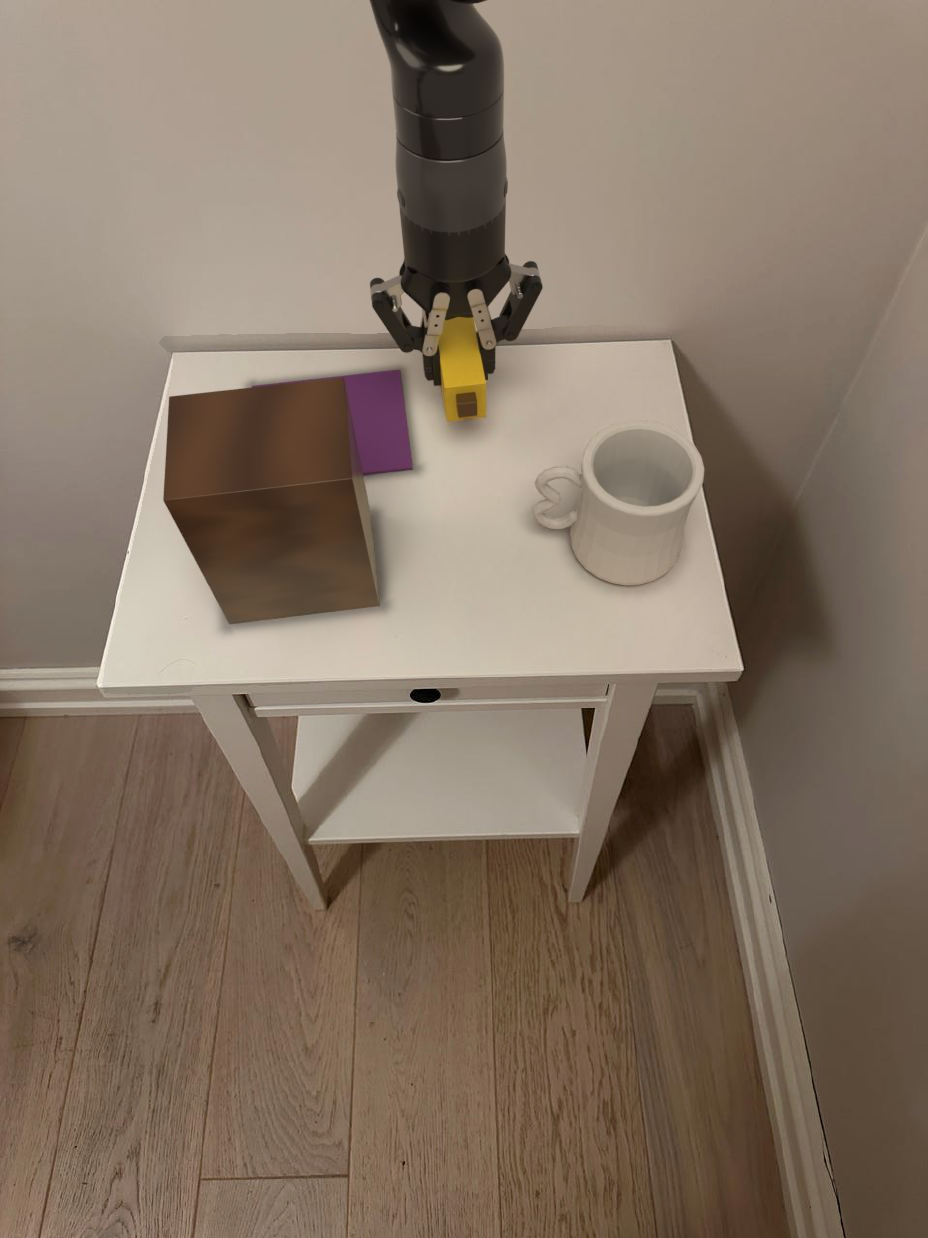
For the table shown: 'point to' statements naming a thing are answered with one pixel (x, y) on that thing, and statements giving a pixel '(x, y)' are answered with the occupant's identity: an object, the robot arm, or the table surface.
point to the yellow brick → (461, 371)
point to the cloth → (377, 420)
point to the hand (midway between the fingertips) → (459, 375)
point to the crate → (272, 498)
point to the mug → (628, 500)
